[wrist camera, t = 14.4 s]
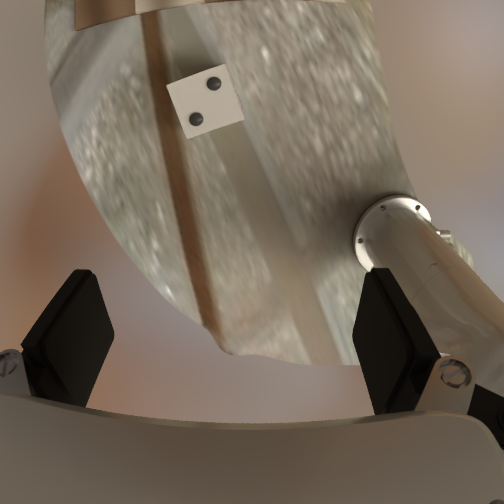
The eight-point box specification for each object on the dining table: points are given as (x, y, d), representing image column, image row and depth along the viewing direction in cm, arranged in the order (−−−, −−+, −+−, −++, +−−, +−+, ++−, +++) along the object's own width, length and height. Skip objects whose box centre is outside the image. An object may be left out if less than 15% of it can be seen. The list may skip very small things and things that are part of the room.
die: (227, 66, 32) (224, 63, 26) (244, 113, 35) (244, 119, 29) (177, 84, 32) (165, 85, 27) (195, 130, 35) (186, 139, 30)
